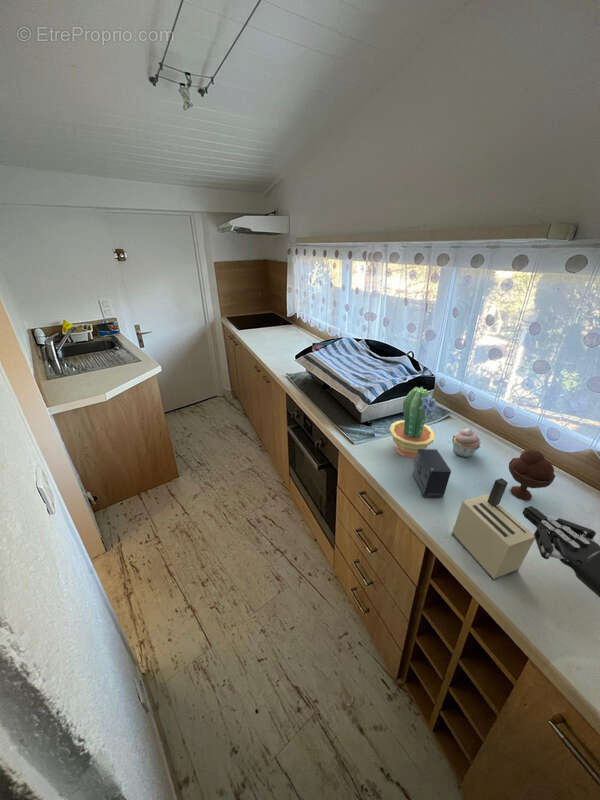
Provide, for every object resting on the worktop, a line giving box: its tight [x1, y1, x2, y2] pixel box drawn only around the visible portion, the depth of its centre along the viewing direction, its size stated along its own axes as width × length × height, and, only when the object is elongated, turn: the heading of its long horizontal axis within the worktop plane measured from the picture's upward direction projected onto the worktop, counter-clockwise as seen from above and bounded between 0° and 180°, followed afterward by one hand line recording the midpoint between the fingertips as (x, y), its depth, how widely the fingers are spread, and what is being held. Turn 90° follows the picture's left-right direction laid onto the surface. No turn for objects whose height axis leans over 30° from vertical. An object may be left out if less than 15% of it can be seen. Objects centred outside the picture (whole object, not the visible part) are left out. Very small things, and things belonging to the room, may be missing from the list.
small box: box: [411, 448, 452, 499], centre depth 93 cm, size 11×6×10 cm, turn 0°
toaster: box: [451, 493, 536, 581], centre depth 73 cm, size 8×13×12 cm, turn 18°
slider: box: [487, 477, 509, 506], centre depth 72 cm, size 2×2×7 cm
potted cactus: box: [389, 386, 437, 458], centre depth 106 cm, size 15×15×25 cm
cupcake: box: [451, 428, 481, 458], centre depth 108 cm, size 9×9×10 cm
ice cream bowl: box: [508, 448, 556, 501], centre depth 89 cm, size 11×11×15 cm
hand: (526, 509), depth 65 cm, fingers closed
